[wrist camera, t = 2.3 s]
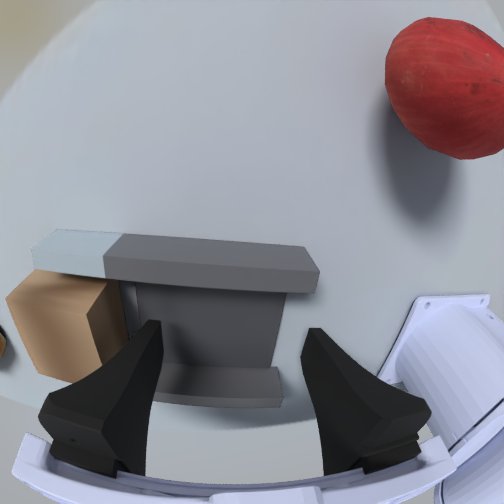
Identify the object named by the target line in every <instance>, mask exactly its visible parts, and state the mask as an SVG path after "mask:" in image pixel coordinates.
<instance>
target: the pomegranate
mask: <svg viewBox="0 0 504 504" xmlns="http://www.w3.org/2000/svg"><path fill="white" fill-rule="evenodd" d="M385 86H386V89H387V92H388V96H389V99H390V102H391V106H392V107H393V109H394V110H395V112H396V114H397V115H398V117H399V119H400V120H401V122H402V124H403V125H404V126H405V127H406V128H407V129H408V130H409V131H410V132H411V133H412V134H413V135H414V136H415V137H416V138H418V139H419V140H420V141H421V142H422V143H423V144H424V145H425V146H426V147H428V148H429V149H432V150H435V151H438V152H441V153H443V154H446V155H449V156H451V157H454V158H457V159H459V160H462V159H476V158H481V157H485V156H489V155H493V154H496V153H497V152H499V151H501V150H502V149H504V48H503V47H502V46H501V45H500V44H498V43H497V42H496V41H495V40H493V39H492V38H491V37H490V36H488V35H487V34H486V33H484V32H483V31H481V30H480V29H478V28H477V27H475V26H473V25H471V24H469V23H466V22H463V21H459V20H451V19H441V18H432V17H427V18H424V19H420V20H417V21H415V22H413V23H412V24H410V25H409V26H408V27H406V28H405V29H403V30H402V31H400V33H399V34H398V35H397V36H396V37H395V38H394V40H393V42H392V44H391V47H390V49H389V51H388V54H387V56H386V64H385Z"/></svg>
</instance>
